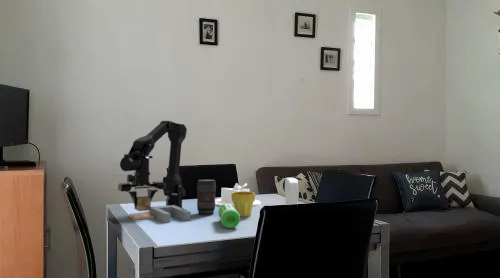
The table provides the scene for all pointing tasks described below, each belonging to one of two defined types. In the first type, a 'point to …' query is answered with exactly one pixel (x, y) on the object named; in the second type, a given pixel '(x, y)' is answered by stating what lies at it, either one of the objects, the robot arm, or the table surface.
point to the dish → (228, 192)
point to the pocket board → (169, 213)
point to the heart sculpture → (291, 191)
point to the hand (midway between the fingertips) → (141, 206)
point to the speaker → (229, 215)
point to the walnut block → (143, 203)
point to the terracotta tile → (141, 216)
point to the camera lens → (206, 197)
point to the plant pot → (243, 202)
